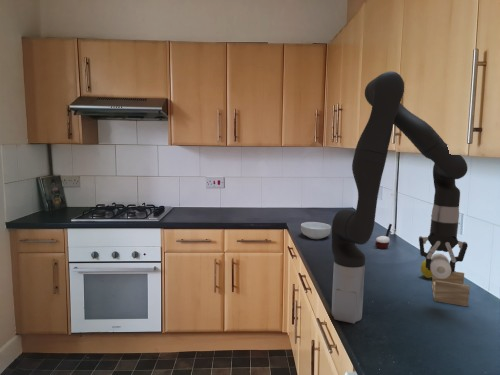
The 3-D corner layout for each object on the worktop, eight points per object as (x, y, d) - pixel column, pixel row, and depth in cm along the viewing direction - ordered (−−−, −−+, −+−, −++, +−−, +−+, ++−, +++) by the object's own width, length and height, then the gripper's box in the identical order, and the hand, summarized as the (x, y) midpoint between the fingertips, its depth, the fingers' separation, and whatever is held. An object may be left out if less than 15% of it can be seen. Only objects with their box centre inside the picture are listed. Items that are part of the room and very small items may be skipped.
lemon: (437, 281, 140) (439, 261, 139) (422, 280, 141) (423, 260, 140) (432, 276, 146) (434, 257, 144) (418, 275, 146) (419, 256, 145)
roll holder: (467, 306, 119) (469, 286, 118) (434, 300, 123) (435, 281, 122) (462, 291, 131) (463, 272, 130) (431, 286, 135) (433, 268, 134)
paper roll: (441, 282, 110) (455, 271, 108) (426, 269, 112) (440, 257, 110) (439, 273, 119) (452, 262, 117) (425, 260, 120) (438, 249, 118)
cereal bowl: (322, 243, 189) (322, 230, 188) (294, 238, 199) (295, 225, 198) (335, 236, 203) (336, 224, 202) (309, 231, 213) (309, 220, 212)
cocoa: (376, 250, 180) (376, 227, 177) (371, 246, 186) (372, 224, 184) (394, 249, 180) (395, 226, 178) (389, 245, 186) (390, 223, 184)
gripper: (419, 219, 112) (414, 270, 114) (473, 224, 106) (467, 279, 108) (419, 214, 119) (414, 264, 121) (469, 219, 113) (463, 271, 115)
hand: (439, 270), depth 115 cm, fingers closed on paper roll, 5 cm apart
